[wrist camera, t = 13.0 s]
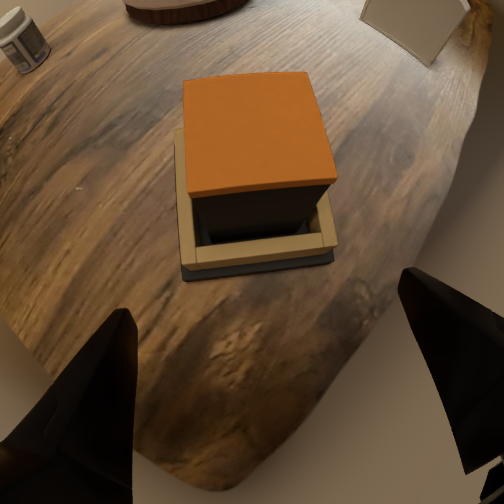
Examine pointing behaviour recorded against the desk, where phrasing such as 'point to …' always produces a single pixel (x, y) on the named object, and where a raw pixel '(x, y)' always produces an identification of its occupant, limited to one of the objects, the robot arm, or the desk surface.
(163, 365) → the desk surface
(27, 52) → the pill bottle
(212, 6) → the mug
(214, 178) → the orange rectangular block
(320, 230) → the base pad
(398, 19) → the gravestone
